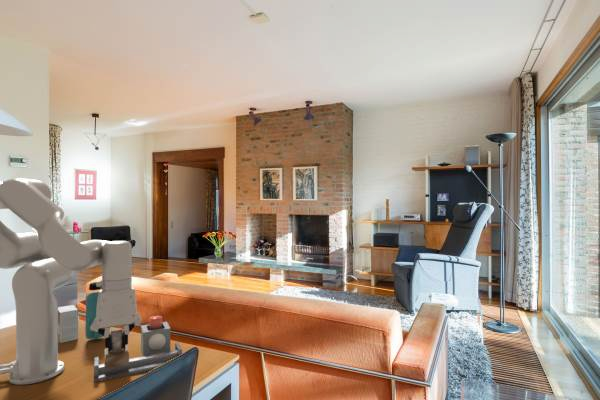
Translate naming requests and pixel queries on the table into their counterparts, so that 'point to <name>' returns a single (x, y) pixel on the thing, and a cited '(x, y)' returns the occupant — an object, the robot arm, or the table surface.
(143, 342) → the gauge cabinet
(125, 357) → the carriage
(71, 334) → the small box
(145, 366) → the rail track
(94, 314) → the beverage bottle
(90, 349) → the table surface
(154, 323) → the gauge button
